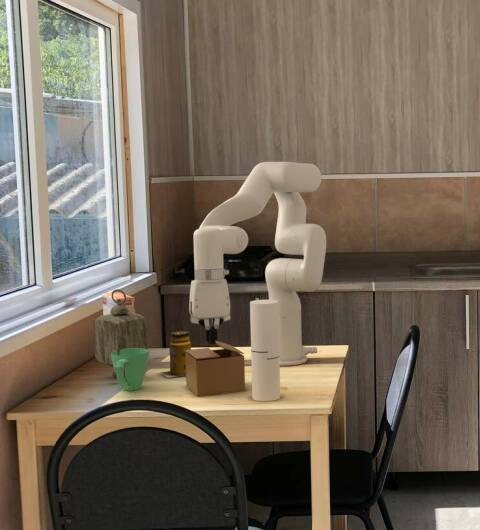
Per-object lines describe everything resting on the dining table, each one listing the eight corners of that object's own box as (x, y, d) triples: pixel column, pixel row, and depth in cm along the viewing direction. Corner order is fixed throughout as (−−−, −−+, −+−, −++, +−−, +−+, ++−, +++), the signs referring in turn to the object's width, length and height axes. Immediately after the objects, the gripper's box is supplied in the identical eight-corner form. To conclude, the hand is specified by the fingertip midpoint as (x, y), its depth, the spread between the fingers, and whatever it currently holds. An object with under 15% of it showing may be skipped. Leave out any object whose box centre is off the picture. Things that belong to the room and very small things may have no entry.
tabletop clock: (149, 376, 252) (145, 289, 249) (121, 383, 245) (117, 293, 242) (120, 369, 261) (117, 285, 258) (93, 375, 254) (88, 289, 251)
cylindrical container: (253, 394, 232) (251, 299, 229) (281, 393, 232) (278, 299, 230) (251, 401, 225) (248, 304, 222) (279, 400, 225) (277, 303, 222)
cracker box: (138, 365, 266) (135, 296, 264) (117, 368, 263) (115, 298, 260) (123, 357, 278) (121, 291, 275) (104, 359, 274) (101, 293, 272)
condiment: (196, 374, 255) (195, 333, 253) (167, 378, 250) (166, 336, 249) (187, 369, 261) (186, 329, 259) (159, 373, 256) (157, 332, 255)
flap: (231, 346, 245) (231, 345, 245) (243, 354, 235) (244, 353, 235) (210, 340, 242) (210, 339, 242) (221, 347, 232) (222, 346, 232)
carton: (232, 381, 246) (231, 345, 245) (245, 390, 236) (244, 353, 235) (186, 386, 240) (185, 350, 239) (197, 396, 230) (196, 358, 229)
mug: (118, 384, 244) (117, 348, 243) (154, 383, 244) (153, 347, 243) (101, 398, 229) (100, 360, 228) (140, 397, 229) (138, 359, 228)
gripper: (232, 272, 241) (234, 338, 243) (177, 275, 234) (179, 343, 236) (240, 274, 234) (242, 343, 236) (184, 278, 227) (186, 348, 229)
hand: (211, 343), depth 236 cm, fingers closed
